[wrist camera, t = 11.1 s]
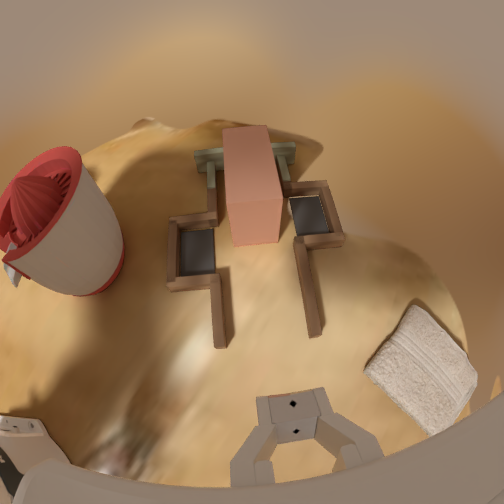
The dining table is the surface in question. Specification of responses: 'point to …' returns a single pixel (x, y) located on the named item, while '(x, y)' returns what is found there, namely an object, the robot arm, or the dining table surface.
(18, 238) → the citrus juicer
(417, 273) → the dining table surface
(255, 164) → the terracotta block
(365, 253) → the dining table surface
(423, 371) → the washcloth
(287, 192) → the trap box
